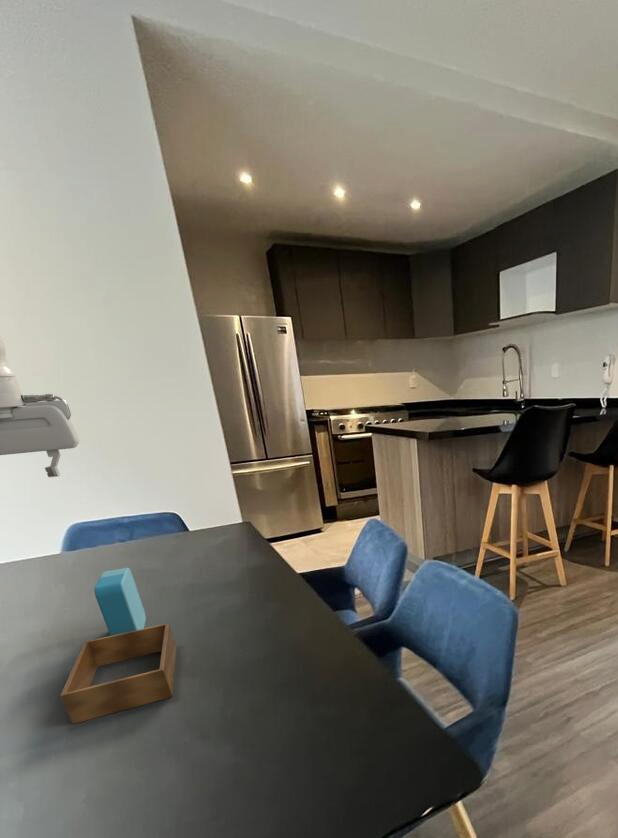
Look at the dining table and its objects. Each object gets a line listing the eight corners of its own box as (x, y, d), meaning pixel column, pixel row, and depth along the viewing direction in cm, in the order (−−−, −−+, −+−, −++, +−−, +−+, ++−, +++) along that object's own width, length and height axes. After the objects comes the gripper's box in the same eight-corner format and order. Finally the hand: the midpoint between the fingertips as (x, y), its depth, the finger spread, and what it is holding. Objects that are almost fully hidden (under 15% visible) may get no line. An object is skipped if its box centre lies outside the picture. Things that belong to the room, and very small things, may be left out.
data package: (122, 622, 103) (103, 569, 99) (146, 617, 105) (129, 565, 100) (114, 647, 93) (92, 590, 88) (141, 641, 95) (121, 584, 90)
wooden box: (72, 724, 72) (59, 696, 70) (94, 665, 87) (84, 641, 85) (172, 696, 77) (163, 669, 75) (176, 646, 92) (169, 622, 90)
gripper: (67, 393, 89) (94, 470, 94) (-80, 402, 81) (-43, 485, 87) (59, 393, 84) (87, 474, 89) (-100, 402, 76) (-58, 491, 81)
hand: (22, 480), depth 88 cm, fingers open, 8 cm apart
